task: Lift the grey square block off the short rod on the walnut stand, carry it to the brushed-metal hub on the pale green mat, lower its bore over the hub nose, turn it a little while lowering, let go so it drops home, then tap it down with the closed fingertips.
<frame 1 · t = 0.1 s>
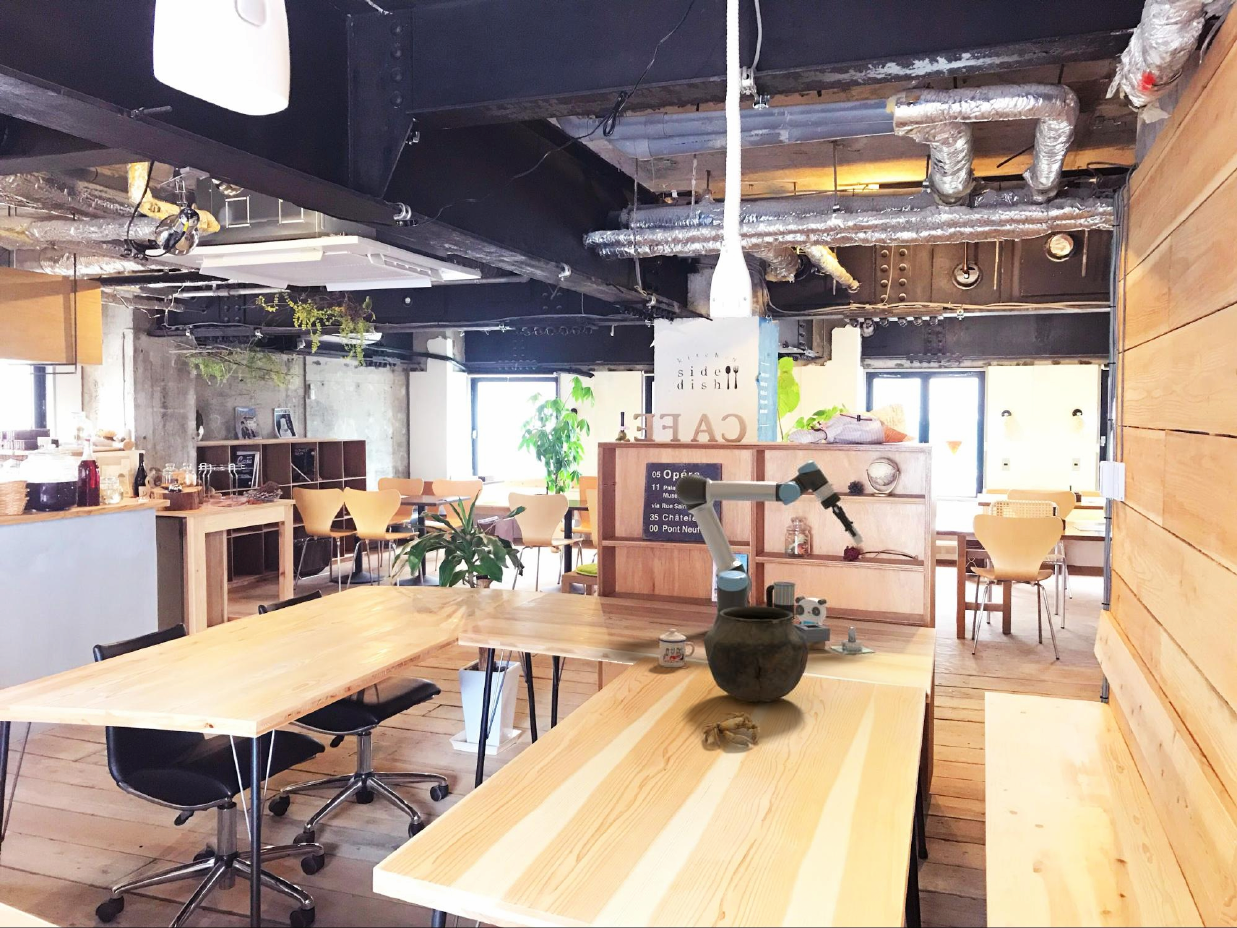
hand: (860, 541, 348), 36 cm above the table, tool tilted 35°, fingers open, 13 cm apart
grey square block: (811, 638, 324), point 3 cm above the table, touching stand
teacup with lid: (676, 665, 296), on the table
stand: (811, 647, 324), on the table
panda figurine: (810, 637, 342), on the table
pot: (757, 700, 255), on the table
milk frother: (775, 618, 379), on the table
crab model: (733, 741, 220), on the table
hub: (851, 650, 320), on the table
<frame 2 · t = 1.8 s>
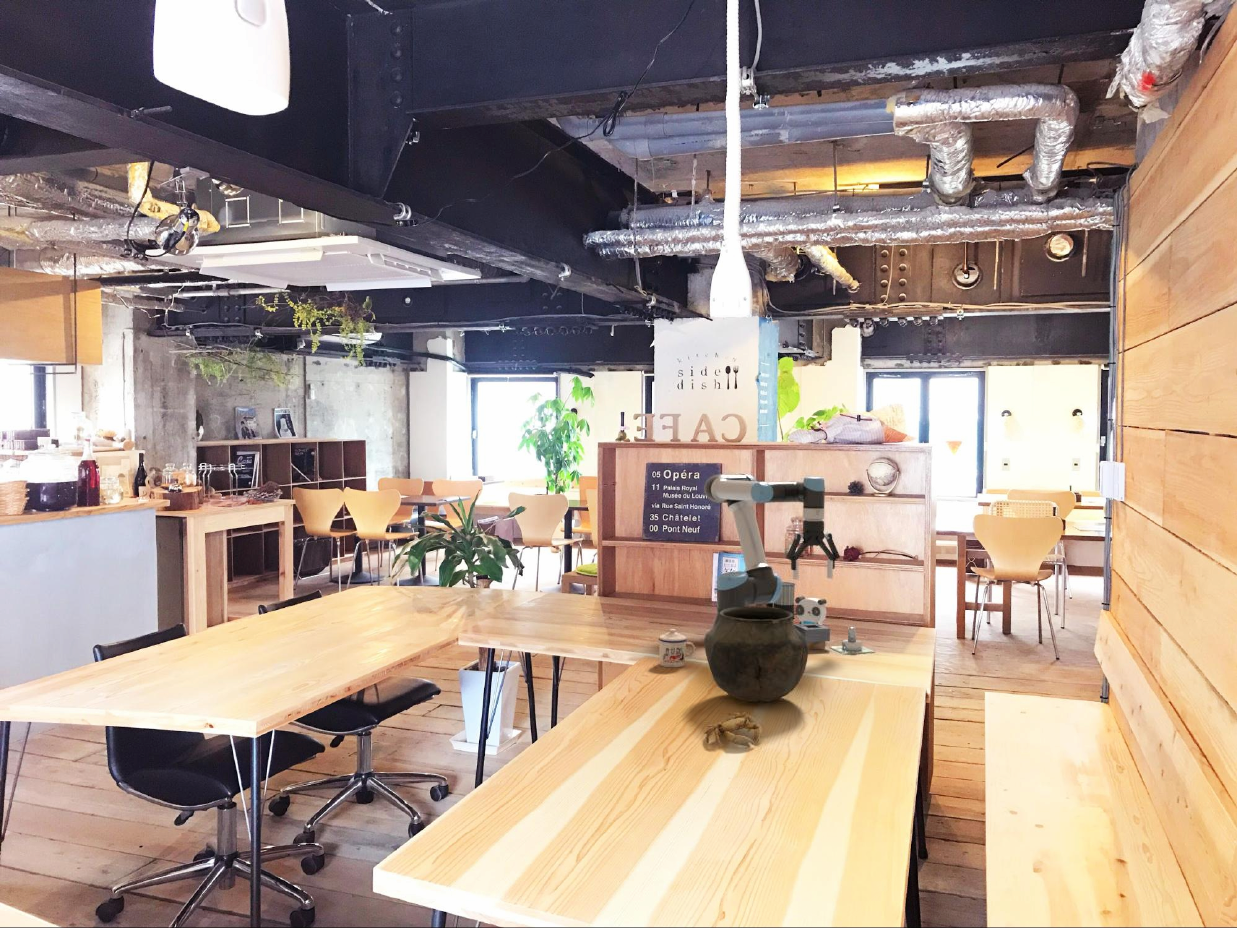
hand: (812, 578, 324), 25 cm above the table, tool pointing down, fingers open, 13 cm apart
nothing on the table moved.
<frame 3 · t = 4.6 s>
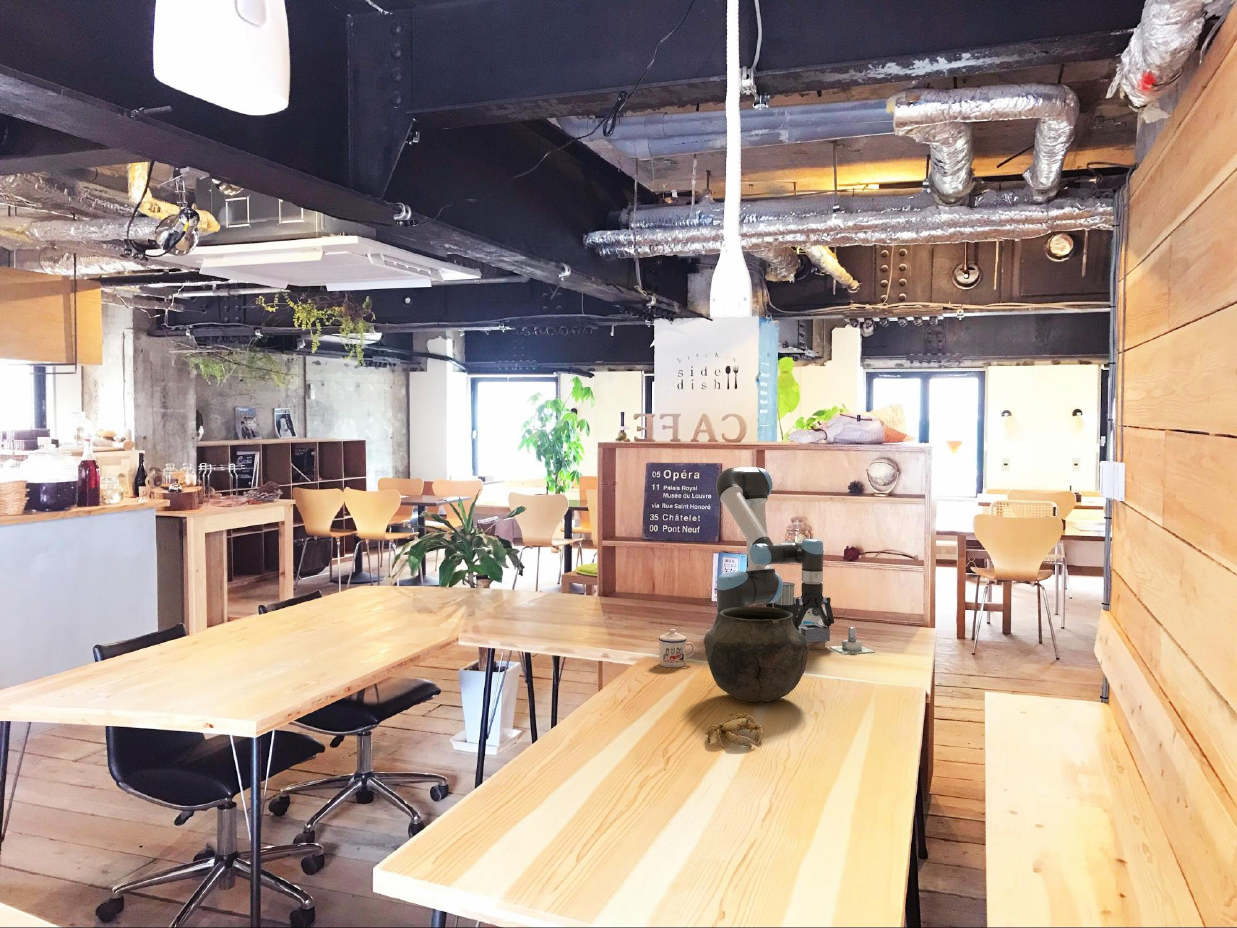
hand: (811, 644, 324), 1 cm above the table, tool pointing down, fingers closed on grey square block, 9 cm apart
grey square block: (811, 638, 324), point 3 cm above the table, touching gripper, stand
everything else where it was.
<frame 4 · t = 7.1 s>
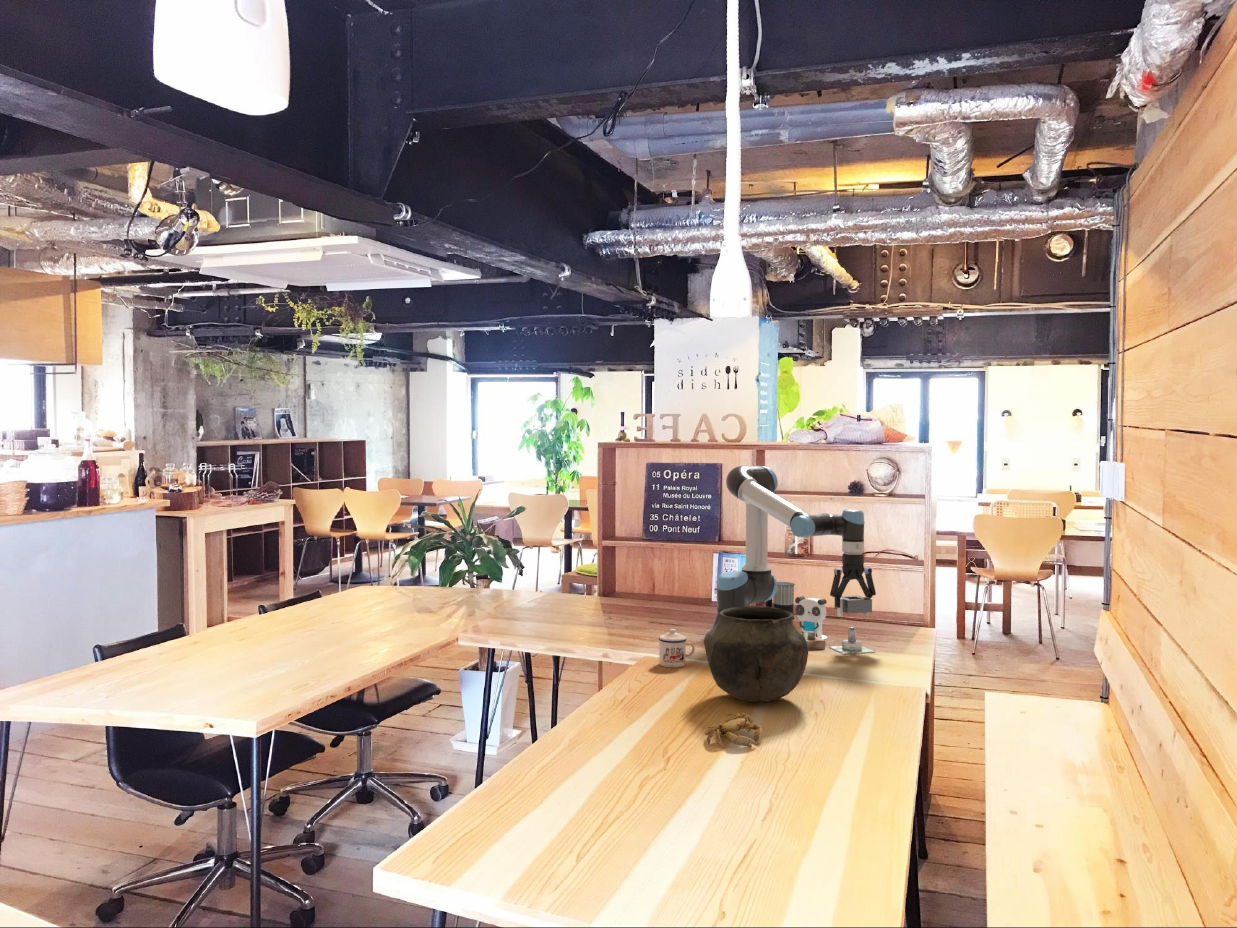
hand: (852, 615, 320), 12 cm above the table, tool pointing down, fingers closed on grey square block, 9 cm apart
grey square block: (853, 610, 320), point 14 cm above the table, touching gripper
everything else where it was.
when the fingers open (2 cm above the table, at t = 9.7 s): grey square block stays where it is, resting on hub.
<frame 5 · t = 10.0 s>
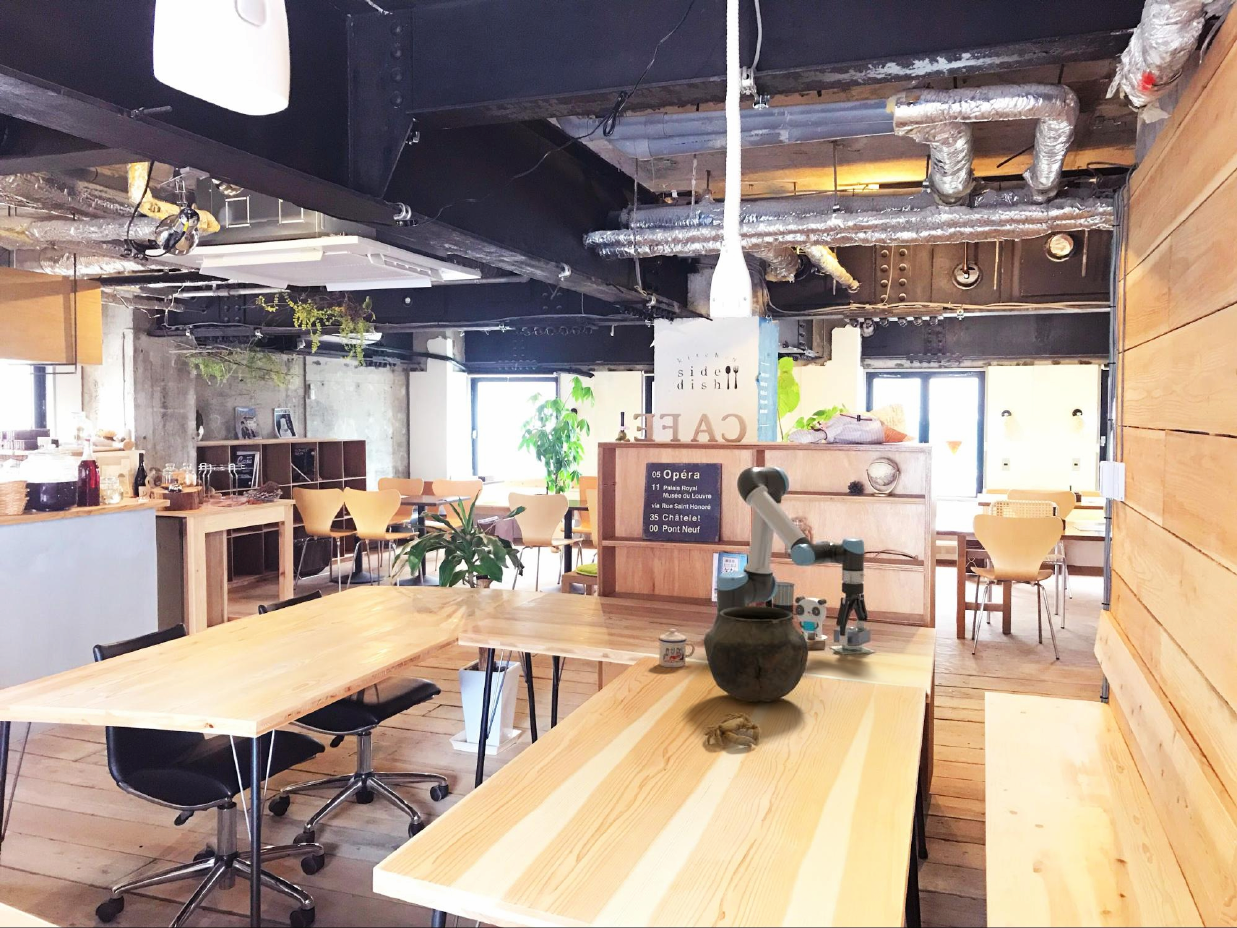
hand: (851, 641, 320), 3 cm above the table, tool pointing down, fingers open, 13 cm apart
grey square block: (851, 641, 320), point 3 cm above the table, touching hub
everything else where it was.
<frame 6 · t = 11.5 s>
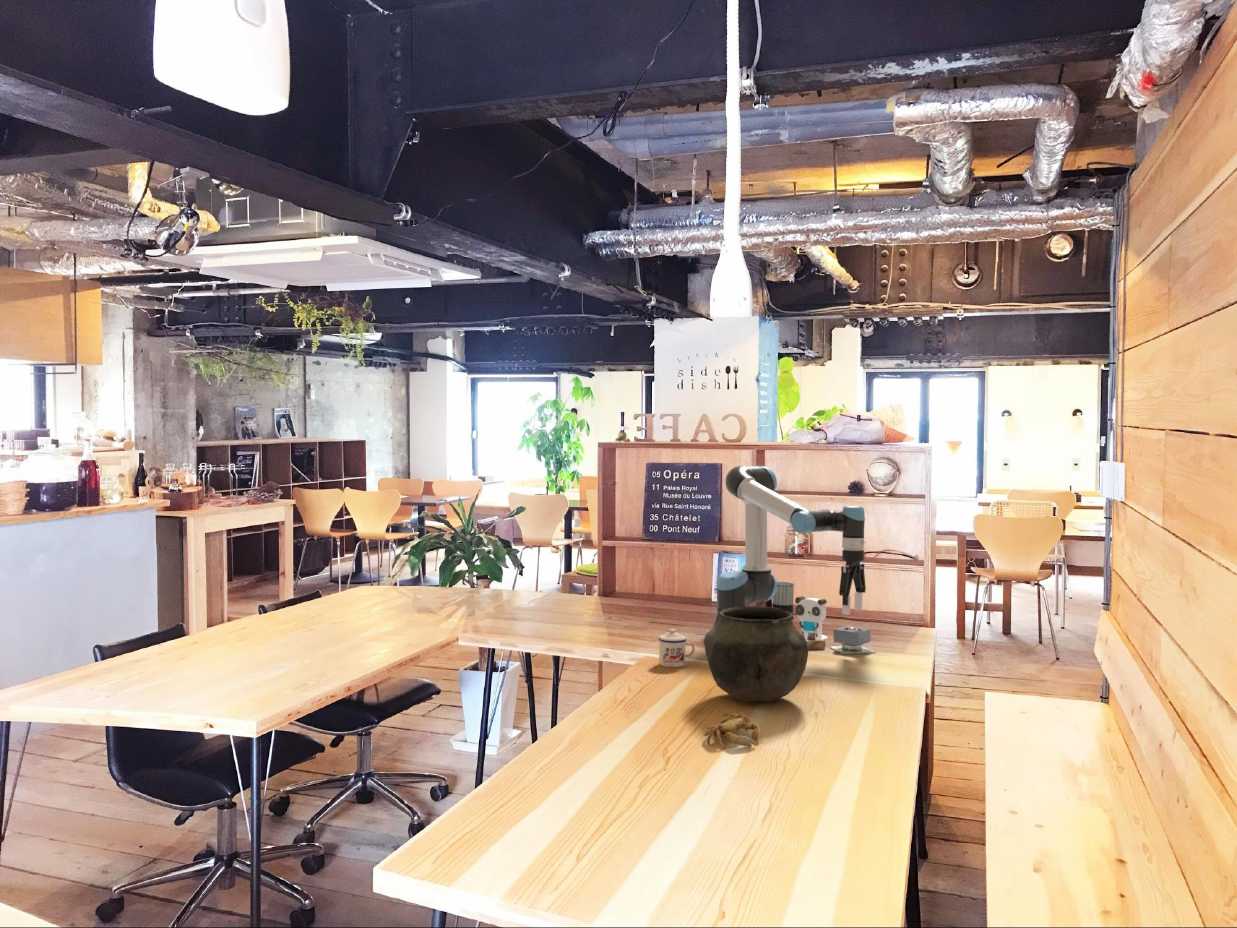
hand: (852, 612, 320), 13 cm above the table, tool pointing down, fingers open, 9 cm apart
nothing on the table moved.
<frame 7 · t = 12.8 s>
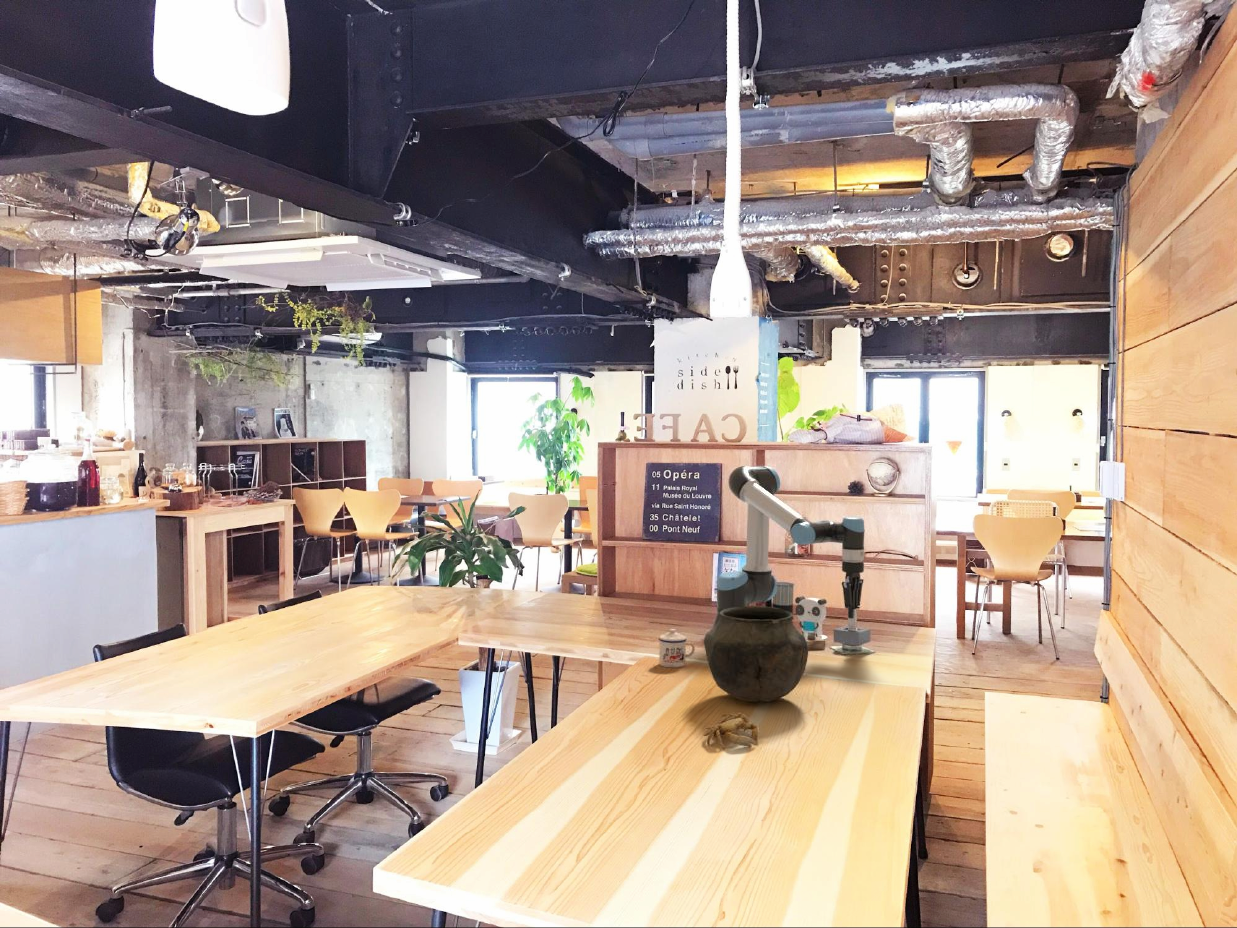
hand: (852, 626, 320), 8 cm above the table, tool pointing down, fingers closed
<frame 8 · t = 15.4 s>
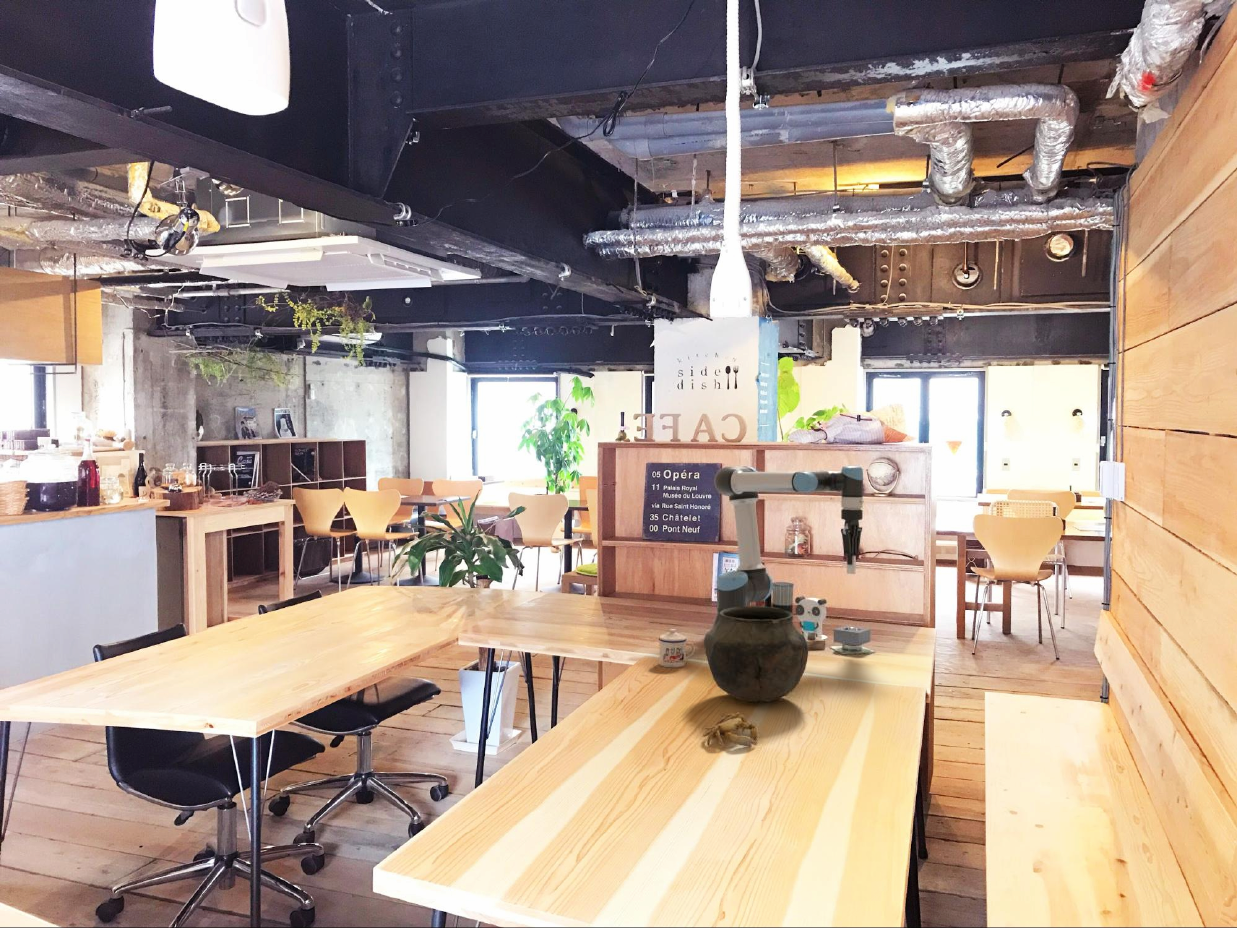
hand: (851, 573, 327), 26 cm above the table, tool pointing down, fingers closed
at the end: grey square block 0.0 cm off-centre on the hub, point 3.0 cm above the hub's base; grey square block tilted 0°; the gripper is holding nothing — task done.
